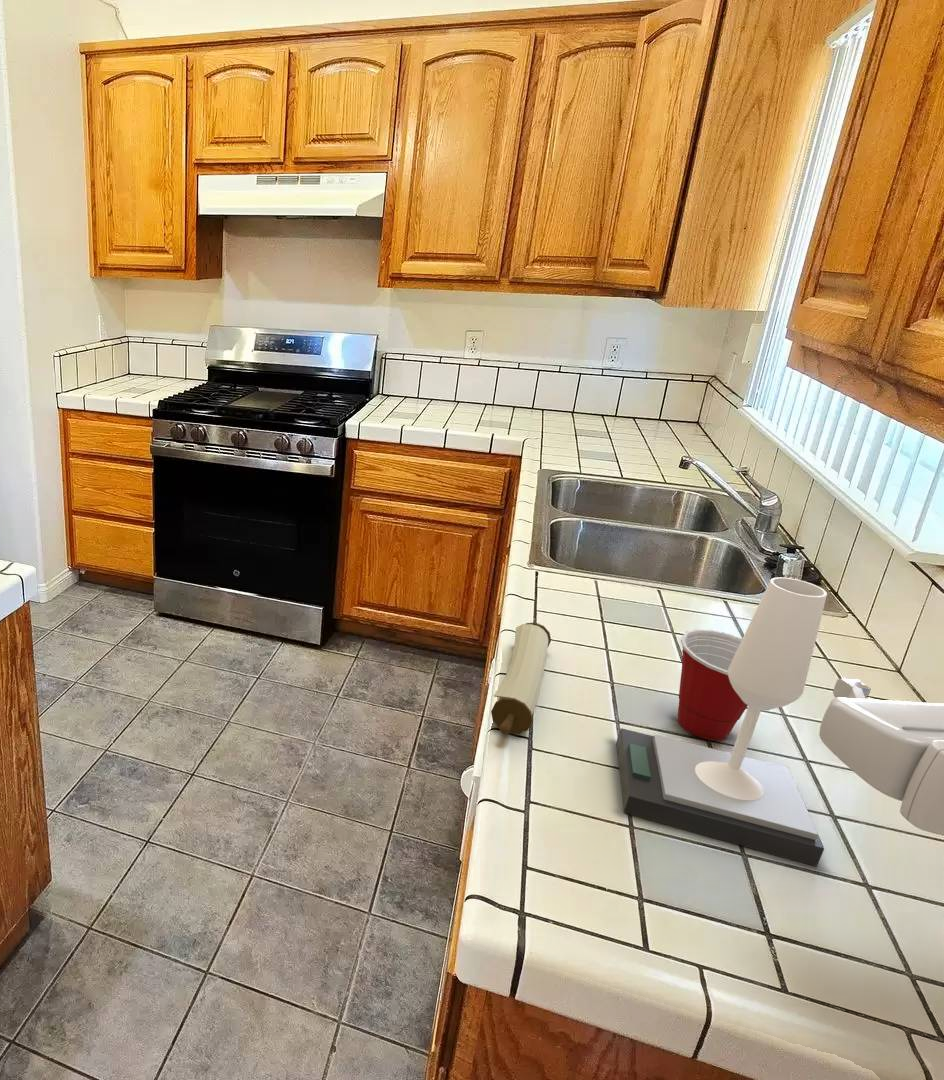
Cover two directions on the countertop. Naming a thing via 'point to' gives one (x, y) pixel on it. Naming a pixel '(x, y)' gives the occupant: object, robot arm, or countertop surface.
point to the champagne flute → (768, 672)
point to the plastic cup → (708, 684)
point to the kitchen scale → (714, 797)
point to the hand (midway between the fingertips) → (900, 689)
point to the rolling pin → (522, 680)
